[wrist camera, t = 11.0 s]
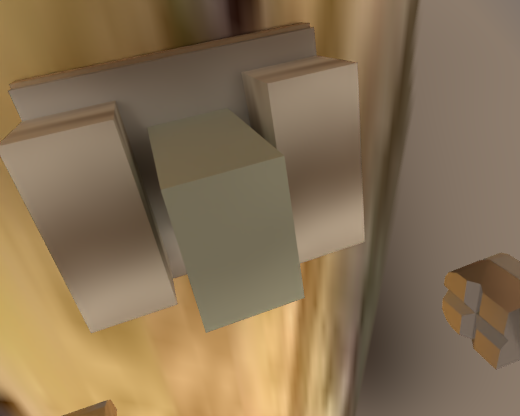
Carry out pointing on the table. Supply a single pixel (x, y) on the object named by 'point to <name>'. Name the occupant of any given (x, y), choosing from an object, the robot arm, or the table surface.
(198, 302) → the block
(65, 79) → the rail board
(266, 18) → the table surface
